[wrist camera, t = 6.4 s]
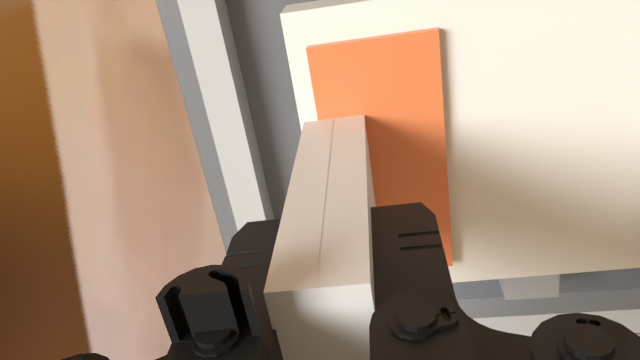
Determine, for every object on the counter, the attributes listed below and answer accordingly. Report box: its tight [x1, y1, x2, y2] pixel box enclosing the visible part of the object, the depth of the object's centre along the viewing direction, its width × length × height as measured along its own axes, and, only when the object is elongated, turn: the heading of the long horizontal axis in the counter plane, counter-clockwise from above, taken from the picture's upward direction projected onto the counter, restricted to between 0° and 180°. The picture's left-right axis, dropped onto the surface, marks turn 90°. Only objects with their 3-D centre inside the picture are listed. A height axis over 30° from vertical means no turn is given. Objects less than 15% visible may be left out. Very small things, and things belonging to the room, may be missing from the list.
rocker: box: [280, 0, 640, 283], centre depth 14 cm, size 12×8×2 cm, turn 99°
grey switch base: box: [156, 0, 640, 336], centre depth 17 cm, size 20×18×6 cm
